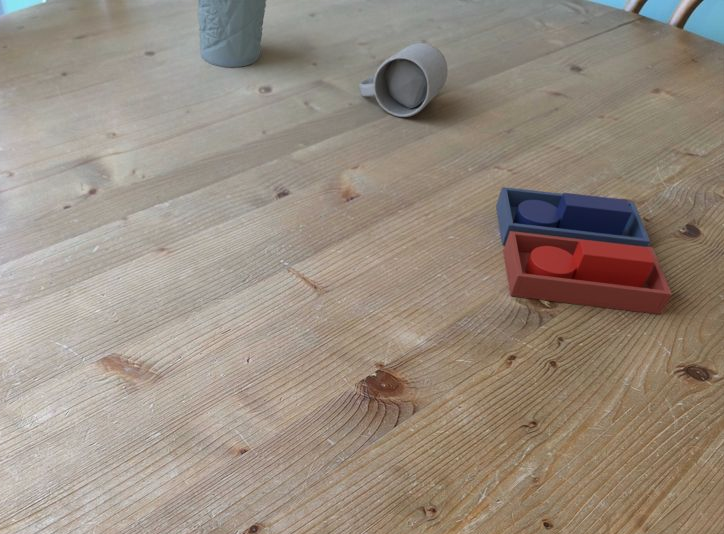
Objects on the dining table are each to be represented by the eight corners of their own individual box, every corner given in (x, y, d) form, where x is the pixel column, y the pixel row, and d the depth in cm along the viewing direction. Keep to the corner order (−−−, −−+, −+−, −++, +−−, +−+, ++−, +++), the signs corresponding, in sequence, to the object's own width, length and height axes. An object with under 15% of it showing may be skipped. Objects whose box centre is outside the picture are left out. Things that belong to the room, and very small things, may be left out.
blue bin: (625, 221, 82) (634, 201, 80) (640, 261, 76) (650, 241, 75) (495, 206, 83) (501, 186, 81) (502, 245, 77) (508, 225, 76)
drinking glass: (183, 59, 106) (181, -31, 98) (213, 35, 113) (214, -52, 104) (249, 75, 103) (253, -17, 95) (276, 48, 110) (282, -40, 102)
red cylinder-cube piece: (631, 270, 74) (646, 241, 72) (641, 299, 71) (657, 269, 69) (522, 257, 75) (533, 228, 73) (528, 285, 72) (539, 255, 69)
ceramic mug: (445, 100, 100) (457, 43, 95) (423, 124, 95) (434, 65, 90) (372, 81, 104) (380, 25, 99) (347, 103, 99) (354, 45, 94)
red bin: (642, 267, 76) (653, 247, 74) (660, 314, 70) (672, 294, 69) (503, 250, 77) (509, 230, 75) (510, 296, 71) (517, 275, 70)
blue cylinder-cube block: (612, 223, 80) (625, 194, 78) (620, 247, 77) (634, 218, 75) (511, 211, 81) (521, 182, 79) (515, 234, 78) (525, 205, 75)
